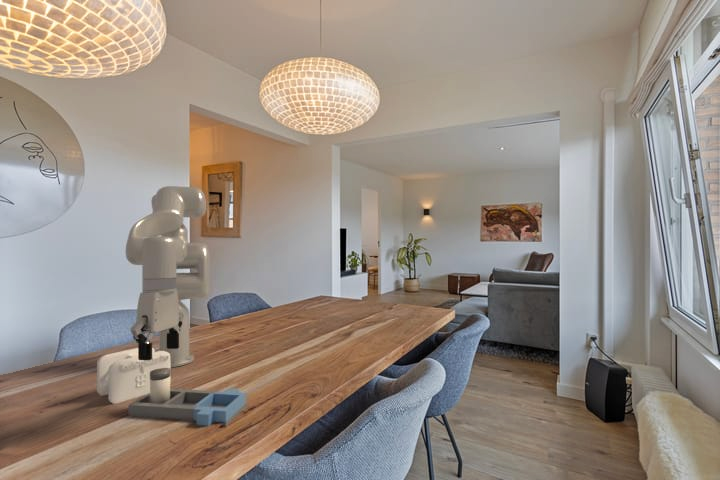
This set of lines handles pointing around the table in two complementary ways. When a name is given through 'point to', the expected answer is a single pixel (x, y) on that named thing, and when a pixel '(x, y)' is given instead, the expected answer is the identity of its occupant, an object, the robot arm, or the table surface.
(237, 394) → the three compartment tray
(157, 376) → the cream capped cylinder
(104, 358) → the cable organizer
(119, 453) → the table surface
